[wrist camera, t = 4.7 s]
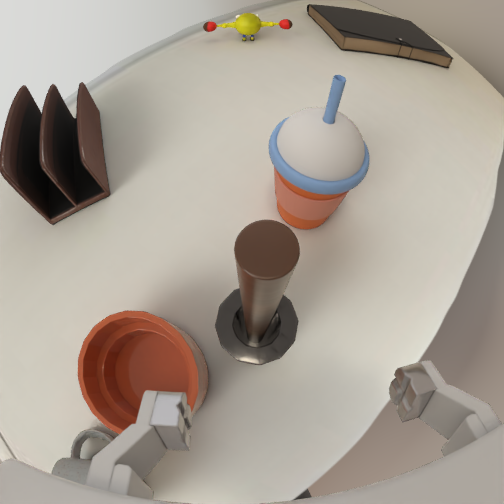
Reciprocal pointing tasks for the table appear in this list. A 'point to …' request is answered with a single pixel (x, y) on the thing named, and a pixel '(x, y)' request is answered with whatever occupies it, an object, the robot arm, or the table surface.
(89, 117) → the letter holder
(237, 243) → the stick
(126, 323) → the bowl
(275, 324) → the tube
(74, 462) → the ceramic mug
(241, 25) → the toy figure
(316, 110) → the cup with straw
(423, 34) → the black book
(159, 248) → the table surface
